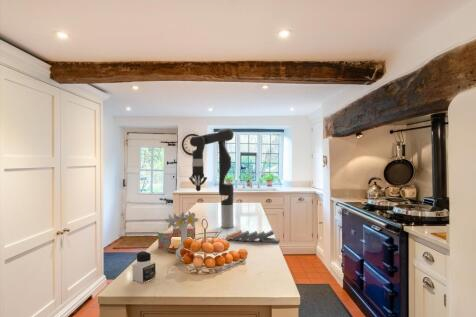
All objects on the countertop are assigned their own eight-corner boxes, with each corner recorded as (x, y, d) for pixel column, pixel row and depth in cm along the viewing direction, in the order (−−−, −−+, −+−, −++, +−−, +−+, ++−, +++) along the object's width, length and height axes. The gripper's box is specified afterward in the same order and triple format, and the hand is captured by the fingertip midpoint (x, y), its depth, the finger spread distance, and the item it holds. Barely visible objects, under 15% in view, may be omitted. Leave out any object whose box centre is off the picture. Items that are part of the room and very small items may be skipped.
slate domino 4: (262, 239, 176) (278, 240, 174) (263, 237, 181) (279, 238, 178) (262, 243, 176) (278, 244, 174) (264, 240, 181) (279, 241, 178)
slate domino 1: (232, 238, 180) (246, 232, 178) (234, 235, 185) (248, 230, 183) (233, 240, 180) (247, 235, 178) (235, 238, 185) (249, 233, 183)
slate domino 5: (258, 237, 177) (272, 231, 177) (258, 236, 182) (272, 229, 182) (259, 240, 177) (274, 234, 177) (259, 239, 182) (273, 232, 182)
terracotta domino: (225, 237, 182) (239, 232, 179) (227, 235, 186) (241, 230, 184) (226, 240, 181) (240, 234, 179) (228, 238, 186) (242, 232, 184)
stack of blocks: (157, 248, 168) (157, 228, 168) (161, 245, 174) (161, 225, 174) (193, 249, 166) (192, 228, 166) (195, 245, 172) (195, 225, 172)
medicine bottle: (143, 283, 121) (142, 256, 121) (132, 280, 125) (131, 253, 125) (156, 277, 127) (155, 251, 127) (145, 274, 131) (144, 248, 131)
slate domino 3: (248, 239, 178) (262, 233, 175) (250, 236, 182) (263, 231, 180) (249, 242, 177) (263, 236, 175) (251, 239, 182) (265, 233, 180)
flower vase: (173, 253, 159) (172, 209, 158) (203, 255, 154) (203, 210, 154) (161, 261, 146) (160, 213, 146) (194, 264, 141) (193, 215, 141)
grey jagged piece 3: (240, 238, 178) (254, 233, 176) (242, 236, 183) (256, 230, 181) (242, 241, 178) (256, 235, 176) (244, 239, 183) (257, 233, 181)
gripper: (208, 165, 194) (209, 190, 194) (190, 165, 196) (191, 190, 197) (205, 165, 186) (205, 191, 187) (186, 165, 189) (187, 191, 189)
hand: (198, 190), depth 192 cm, fingers closed
